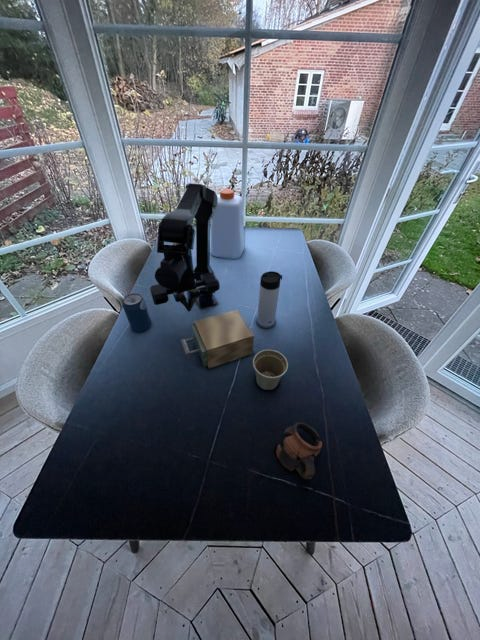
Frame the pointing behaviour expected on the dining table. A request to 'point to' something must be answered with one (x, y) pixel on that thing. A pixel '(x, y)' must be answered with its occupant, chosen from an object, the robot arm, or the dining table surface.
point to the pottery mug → (299, 451)
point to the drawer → (198, 344)
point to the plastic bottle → (228, 226)
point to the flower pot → (269, 368)
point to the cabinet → (225, 337)
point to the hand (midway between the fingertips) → (188, 310)
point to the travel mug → (268, 298)
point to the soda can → (136, 312)
